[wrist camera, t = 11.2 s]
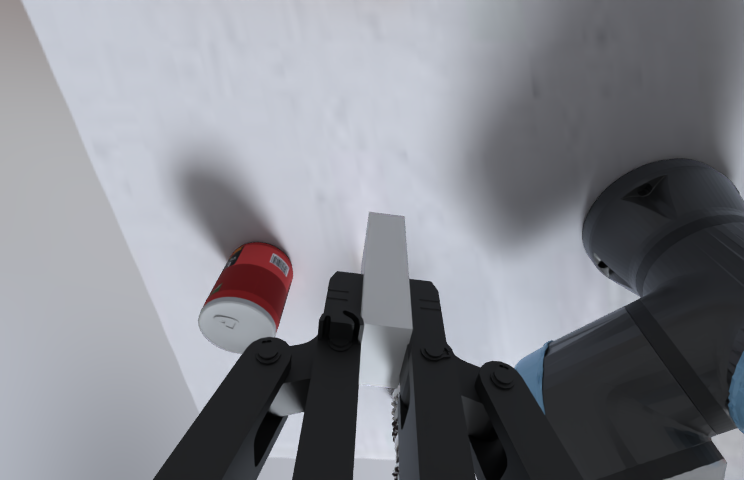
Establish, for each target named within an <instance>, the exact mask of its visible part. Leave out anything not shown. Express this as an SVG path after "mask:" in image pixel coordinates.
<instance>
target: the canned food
mask: <svg viewBox="0 0 744 480" xmlns="http://www.w3.org/2000/svg"><path fill="white" fill-rule="evenodd" d="M292 279H293V270H292V264H291V262H290V260H289V258H288V257H287V256H286V255H285V254H284V253H283V252H282V251H281V250H280V249H278V248H276V247H274V246H273V245H270V244H267V243H261V242H253V243H248V244H245V245H243V246H241V247H239V248H238V249H236V250H235V251H234V252H233V253H232V255H231V257H230V258H229V260H228V262H227V264H226V266H225V267H224V269H223V271H222V273H221V275H220V276H219V278H218V280H217V282H216V284H215V286H214V287H213V289H212V291H211V293H210V295H209V296H208V298H207V300H206V302H205V304H204V306H203V308H202V310H201V312H200V315H199V319H198V325H199V328H200V331H201V332H202V334H203V335H204V337H205V338H206V339H207V340H208V341H210V342H211V343H212V344H213V345H215V346H217V347H219V348H221V349H223V350H225V351H228V352H232V353H237V354H243V352H244V351H245V349H246V348H247V347H248V346H249V345H250V344H251V343H252V342H254V341H256V340H258V339H260V338H265V337H275V335H276V332H277V329H278V326H279V323H280V319H281V316H282V313H283V309H284V306H285V303H286V299H287V296H288V292H289V289H290V286H291V282H292Z"/></svg>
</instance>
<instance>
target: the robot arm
mask: <svg viewBox="0 0 744 480" xmlns="http://www.w3.org/2000/svg"><path fill="white" fill-rule="evenodd" d="M583 244H584V248H585V250H586V253H587V254H588V256H589V258H590V259H591V260H592V262H593V263H594V265H595V266H596V267H597V269H598V270H599V271H600V272H601V273H603V274H604V275H605V276H606V277H608V278H609V279H611V280H613V281H614V282H616V283H618V284H619V285H621V286H623V287H624V288H626V289H628V290H630V291H631V292H633V293H635V294H636V295H638V296H640V297H641V298H640V299H638V300H636V301H634V302H632V303H630V304H628V305H626V306H624V307H622V308H620V309H618V310H616V311H614V312H612V313H610V314H608V315H606V316H604V317H602V318H600V319H598V320H596V321H594V322H592V323H590V324H587V325H585V326H583V327H581V328H579V329H577V330H575V331H573V332H571V333H569V334H567V335H565V336H563V337H561V338H559V339H557V340H555V341H553V340H551V341H548V342H547V343H545V344H544V346H543V347H542V348H540V349H538V350H536V351H535V352H533V353H531V354H529V355H528V356H526V357H524V358H523V359H521V360H520V361H519V362H518V363H517V365H516V366H515V368H513V367H511V366H510V365H508V364H505V363H503V362H499V361H490V362H487V363H485V364H484V365H483V366H482V367H481V368H480V367H478V366H475V365H472V364H470V363H467V362H465V361H463V360H461V359H460V358H458V357H457V356H455V355H454V353H453V351H452V349H451V347H450V346H449V345H448V344H447V342H446V337H445V331H444V324H443V318H442V312H441V306H440V300H439V293H438V290H437V289H436V288H435V286H434V285H433V283H432V282H430V281H422V280H414V279H409V271H408V258H407V244H406V231H405V217H404V216H398V215H390V214H382V213H374V212H369V217H368V224H367V231H366V238H365V245H364V252H363V259H362V267H361V274H357V273H348V272H340V271H337V272H336V273H335V274H334V275H333V276H332V277H331V278H330V281H329V286H328V292H327V298H326V303H325V309H324V313H323V314H322V315H321V317H320V319H319V328H318V335H317V336H316V337H315V338H314V339H312V340H311V341H309V342H307V343H304V344H300V345H294V346H289V345H288V344H287V343H286V342H285V341H283V340H281V339H279V338H275V337H265V338H260V339H258V340H256V341H254V342H252V343H251V344H250V345H249V346H248V347H247V348H246V349H245V351H244V352H243V354H242V355H241V356H240V358H239V359H238V361H237V362H236V364H235V365H234V366H233V368H232V369H231V371H230V372H229V373H228V375H227V376H226V378H225V379H224V380H223V382H222V383H221V385H220V386H219V387H218V389H217V390H216V392H215V393H214V394H213V396H212V397H211V399H210V400H209V401H208V403H207V404H206V406H205V407H204V408H203V410H202V411H201V413H200V414H199V416H198V417H197V418H196V420H195V421H194V423H193V424H192V425H191V427H190V428H189V430H188V431H187V432H186V434H185V435H184V437H183V438H182V440H181V441H180V442H179V444H178V445H177V446H176V448H175V449H174V451H173V452H172V454H171V455H170V456H169V458H168V459H167V460H166V462H165V463H164V465H163V466H162V468H161V469H160V470H159V472H158V473H157V475H156V476H155V478H154V479H153V480H256V479H257V477H258V475H259V473H260V471H261V469H262V467H263V465H264V463H265V461H266V459H267V457H268V456H269V454H270V452H271V450H272V448H273V446H274V444H275V442H276V440H277V438H278V436H279V434H280V432H281V430H282V428H283V426H284V424H285V422H286V420H287V418H288V415H291V414H296V413H300V412H304V417H303V423H302V429H301V434H300V440H299V445H298V451H297V456H296V462H295V467H294V473H293V478H292V480H353V468H354V452H355V436H356V420H357V404H358V388H359V385H366V386H376V387H385V388H394V389H398V385H399V381H400V395H399V399H398V403H397V406H396V410H395V414H394V419H397V417H398V450H399V480H476V478H475V475H476V477H477V479H478V480H724V477H725V471H726V466H727V462H726V460H725V459H724V458H723V456H722V455H721V453H720V452H719V451H718V449H717V448H716V446H715V445H714V443H713V442H712V440H711V437H713V436H715V435H718V434H721V433H724V432H727V431H730V430H733V429H735V428H738V429H739V430H740V431H741V432H742V433H744V201H743V199H742V197H741V196H740V194H739V191H738V190H737V188H736V187H735V185H734V184H733V183H732V182H731V181H730V180H729V179H728V178H727V177H726V176H724V175H723V174H721V173H720V172H718V171H716V170H715V169H713V168H712V167H710V166H708V165H706V164H704V163H701V162H698V161H695V160H689V159H669V160H662V161H658V162H654V163H650V164H647V165H645V166H642V167H640V168H637V169H635V170H633V171H631V172H629V173H628V174H626V175H624V176H623V177H621V178H620V179H618V180H617V181H616V182H614V183H613V184H612V185H611V186H609V187H608V188H607V189H606V190H605V191H604V192H603V193H602V194H601V195H600V196H599V198H598V199H597V200H596V202H595V203H594V204H593V206H592V208H591V209H590V211H589V213H588V215H587V217H586V220H585V223H584V228H583Z"/></svg>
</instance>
